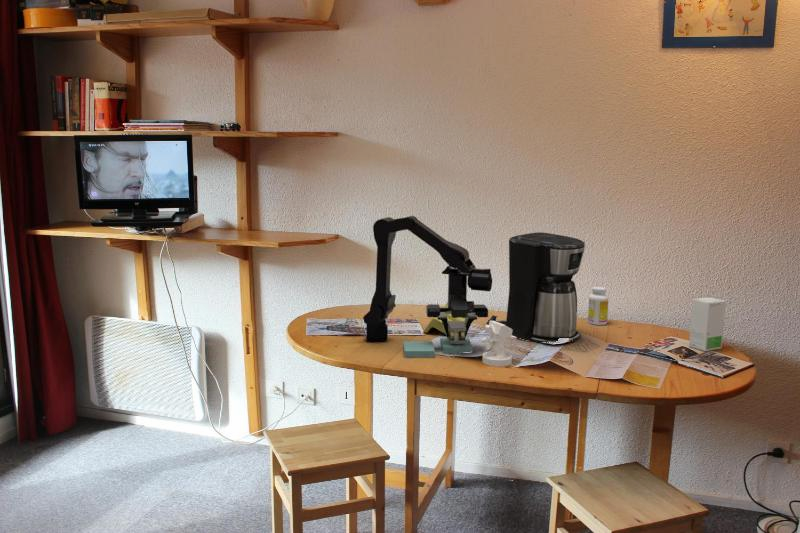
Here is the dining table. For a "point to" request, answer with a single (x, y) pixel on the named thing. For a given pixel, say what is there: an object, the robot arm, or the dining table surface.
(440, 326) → the plastic component
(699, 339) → the skincare box
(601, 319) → the supplement bottle
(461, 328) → the housing
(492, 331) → the character figurine
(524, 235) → the coffee maker
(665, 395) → the dining table surface
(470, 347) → the stand right
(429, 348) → the stand left
